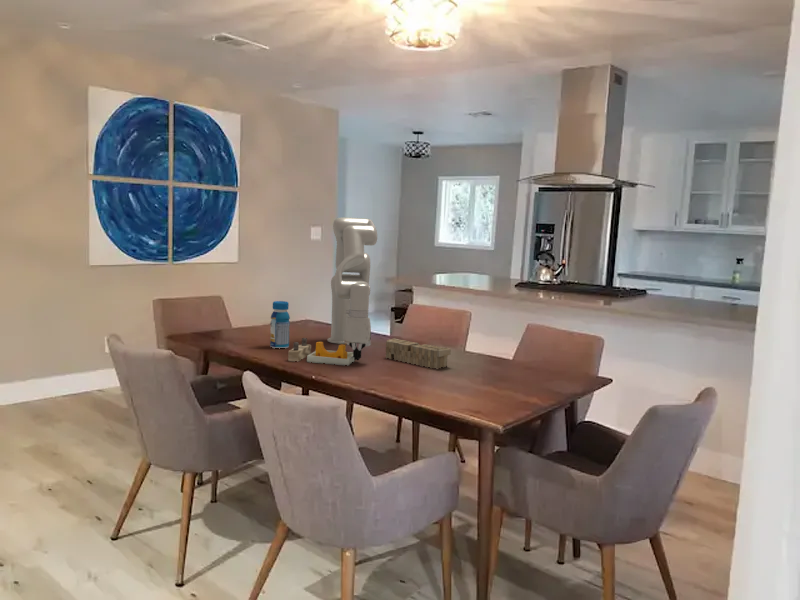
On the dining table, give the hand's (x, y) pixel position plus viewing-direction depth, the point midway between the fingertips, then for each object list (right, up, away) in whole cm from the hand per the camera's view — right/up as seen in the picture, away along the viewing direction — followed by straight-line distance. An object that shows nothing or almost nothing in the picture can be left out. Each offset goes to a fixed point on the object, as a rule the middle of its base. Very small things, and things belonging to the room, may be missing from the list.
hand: (357, 359), depth 256 cm
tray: (-10, -1, +2) cm, 10 cm away
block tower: (+24, -2, +6) cm, 24 cm away
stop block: (-24, 0, +5) cm, 24 cm away
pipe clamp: (-11, 0, +2) cm, 11 cm away
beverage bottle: (-35, +3, +23) cm, 42 cm away
